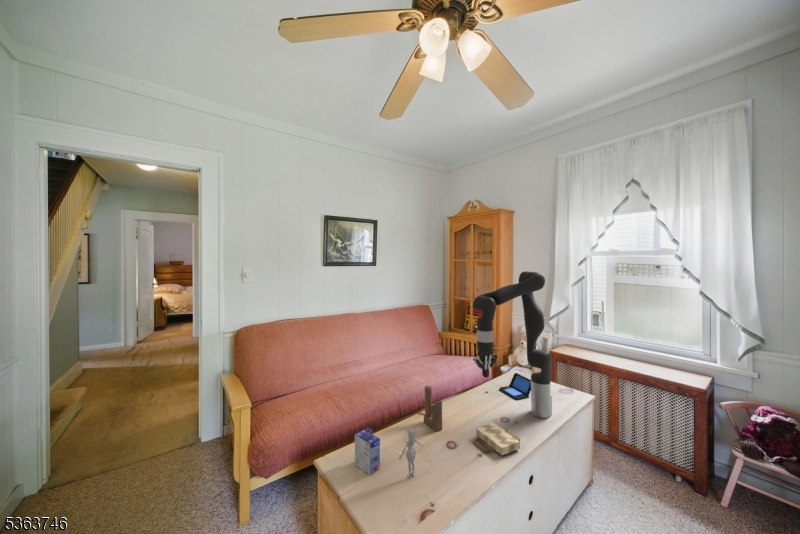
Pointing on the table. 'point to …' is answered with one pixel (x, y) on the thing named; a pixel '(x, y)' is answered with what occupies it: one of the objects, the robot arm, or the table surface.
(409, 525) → the table surface
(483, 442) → the floor panel
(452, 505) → the table surface
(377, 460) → the ink cartridge box
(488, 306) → the robot arm
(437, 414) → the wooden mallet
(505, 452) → the oak plank
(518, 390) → the handheld game console
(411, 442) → the human figurine
